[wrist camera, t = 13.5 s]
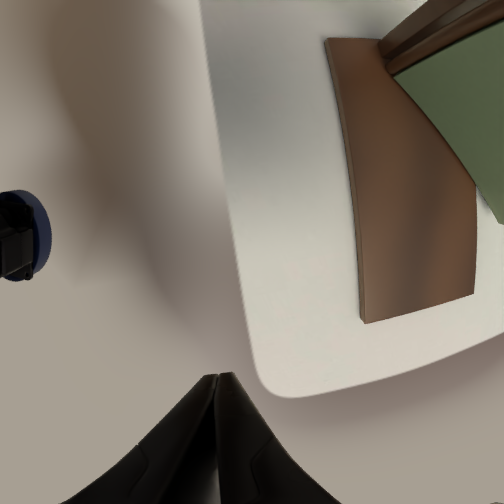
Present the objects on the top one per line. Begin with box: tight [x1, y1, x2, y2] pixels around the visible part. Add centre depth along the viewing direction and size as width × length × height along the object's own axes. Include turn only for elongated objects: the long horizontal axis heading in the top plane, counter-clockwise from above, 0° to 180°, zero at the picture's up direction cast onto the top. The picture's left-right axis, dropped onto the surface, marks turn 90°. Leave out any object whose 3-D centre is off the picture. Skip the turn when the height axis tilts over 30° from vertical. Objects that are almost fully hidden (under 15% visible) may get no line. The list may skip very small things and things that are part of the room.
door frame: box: [324, 0, 488, 324], centre depth 11 cm, size 10×19×15 cm, turn 9°
